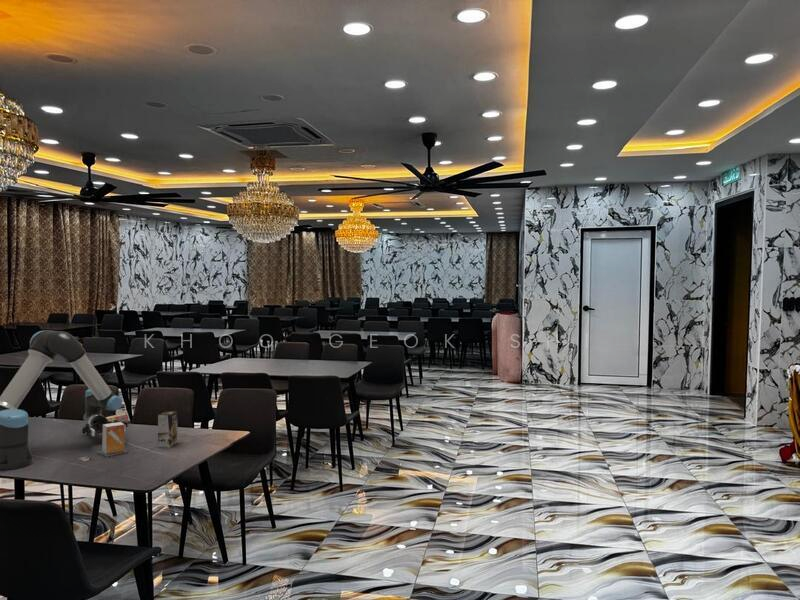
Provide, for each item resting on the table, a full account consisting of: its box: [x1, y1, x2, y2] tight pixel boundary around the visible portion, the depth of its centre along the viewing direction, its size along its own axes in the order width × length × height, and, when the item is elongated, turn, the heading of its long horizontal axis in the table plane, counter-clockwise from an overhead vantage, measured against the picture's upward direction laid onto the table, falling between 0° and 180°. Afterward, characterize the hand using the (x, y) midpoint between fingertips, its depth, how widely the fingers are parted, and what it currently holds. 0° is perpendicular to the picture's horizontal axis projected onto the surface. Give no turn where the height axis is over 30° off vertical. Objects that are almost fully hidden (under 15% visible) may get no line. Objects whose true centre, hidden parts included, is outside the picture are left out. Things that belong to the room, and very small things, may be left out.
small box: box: [101, 422, 125, 454], centre depth 266 cm, size 8×6×13 cm
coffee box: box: [157, 410, 178, 449], centre depth 280 cm, size 9×6×16 cm
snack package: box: [95, 413, 129, 433], centre depth 311 cm, size 21×7×7 cm, turn 160°
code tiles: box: [78, 456, 90, 462], centre depth 256 cm, size 4×6×1 cm, turn 52°
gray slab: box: [96, 449, 130, 458], centre depth 266 cm, size 10×10×1 cm
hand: (109, 431), depth 272 cm, fingers open, 13 cm apart
